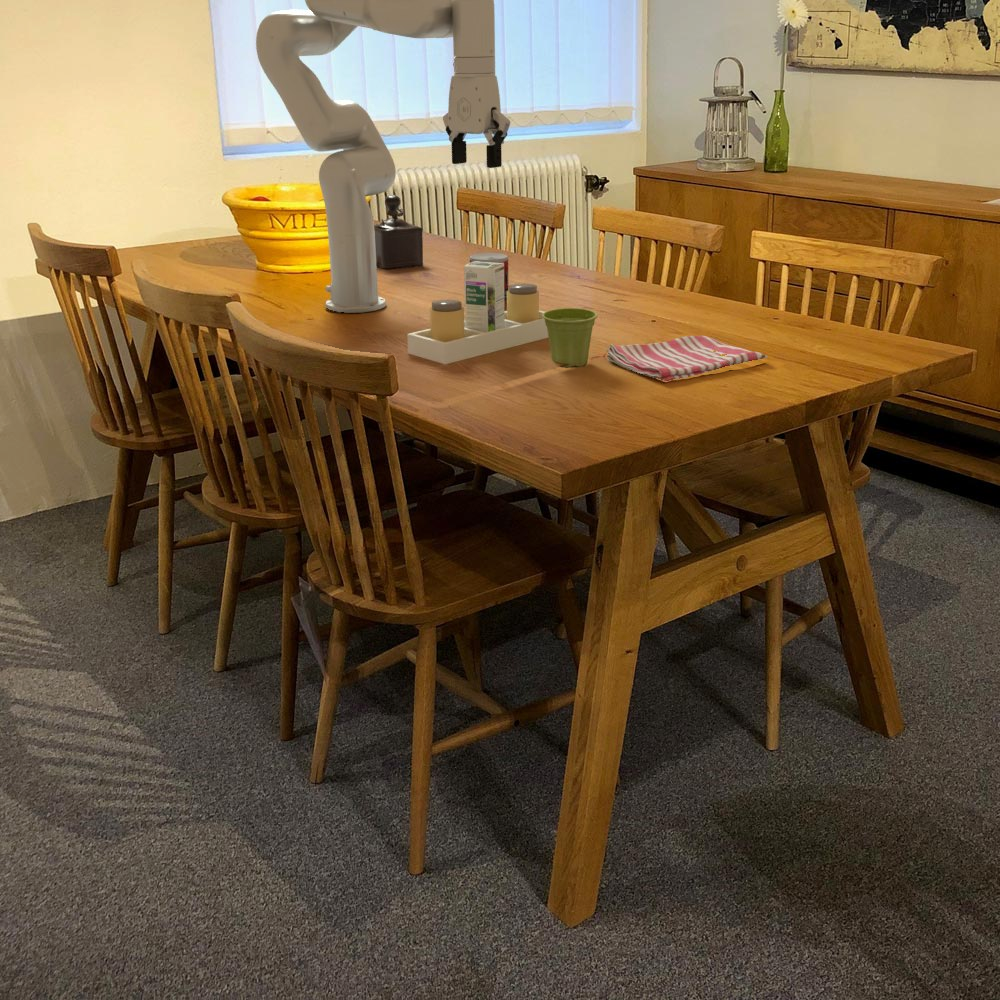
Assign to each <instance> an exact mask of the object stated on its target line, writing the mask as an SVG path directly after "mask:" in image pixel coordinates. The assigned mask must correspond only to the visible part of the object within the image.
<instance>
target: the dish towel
mask: <svg viewBox="0 0 1000 1000" xmlns="http://www.w3.org/2000/svg"><path fill="white" fill-rule="evenodd" d="M714 350H715V351H716V352H713V351H714ZM717 350H718V351H719V352H718V351H717ZM606 352H607V355H606V358H607V359H608V361H609V362H611V363H614V364H617V366H620V367H622V368H623V369H625V368H626V370H628V371H631V370H632V372H634V373H636V372H637V374H639V373H640V374H639V375H641V374H643V375H642V376H644V375H646V376H645V377H647V376H650V377H649V378H651V377H654V378H658V379H661V380H664V381H669V380H673V379H680V378H686V377H690V376H695V375H698V374H702V373H705V372H709V371H712V370H716V369H719V368H722V367H725V366H730V365H734V364H740V363H743V362H748V361H752V360H758V359H763V358H768V356H767V355H766V354H764V353H761V352H758V351H751V350H749V349H746V348H742V347H738V346H734V345H730V344H726V343H722V342H720V341H718V340H716V339H714V338H712V337H709V336H706V335H687V336H686V335H685V336H682V337H677V338H674V339H672V340H668V341H663V342H655V343H653V342H652V343H648V344H646V345H645V344H639V343H637V344H636V343H635V344H626V345H620V346H617V345H615V344H612V343H611V344H610V345H609V347H607V348H606ZM722 354H727V355H725V356H720V355H722ZM654 378H653V379H654Z"/></svg>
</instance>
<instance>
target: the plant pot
mask: <svg viewBox="0 0 1000 1000" xmlns="http://www.w3.org/2000/svg"><path fill="white" fill-rule="evenodd" d="M542 317H543V318H544V319H545V324H546V326H547V330H548V336H549V337H548V341H549V349H550V357H551V360H552V361H553V362H555V363H559V364H563V365H560V367H561V368H570V367H572V366H573V367H574V366H576V367H582V366H584V365H586V364H588V359H589V353H590V345H591V339H592V332H593V327H594V325H595V320H596V319H597V318H598V312H596V311H594V310H590V309H587V308H579V307H562V308H554V309H549V310H546V311H544V313H543V314H542Z"/></svg>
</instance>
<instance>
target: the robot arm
mask: <svg viewBox="0 0 1000 1000" xmlns="http://www.w3.org/2000/svg"><path fill="white" fill-rule="evenodd" d="M304 2H305V5H306V7H307V9H308V10H306V9H305V10H304V9H303V10H302V9H300V10H299V9H289V10H278V11H275V12H272V13H269V14H268V15H266V16H265V17H264V18H263V19H262V20H261V22H260V23H259V25H258V29H257V32H256V39H255V41H256V42H255V46H256V47H255V49H256V55H257V59H258V62H259V63H260V67H261V69H262V71H263V72H264V74H265V76H266V78H267V79H268V80H269V82H270V84H271V85H272V86H273V88H274V89H275V91H276V93H277V94H278V95H279V97H280V99H281V101H282V103H283V104H284V106H285V108H286V111H287V112H288V114H289V116H290V118H291V120H292V121H293V123H294V125H295V127H296V128H297V130H298V132H299V133H300V136H301V137H302V138H303V142H305V143H306V145H307V147H309V148H310V149H311V150H313V151H316V152H321V153H322V152H323V153H324V152H331V151H335V152H333V153H331V154H329V155H327V156H326V157H325V159H324V160H323V161H322V162H321V165H320V166H319V167H320V168H319V170H318V181H319V182H318V183H319V186H320V190H321V193H322V198H323V202H324V207H325V215H326V225H327V226H326V227H327V235H328V250H329V264H330V265H329V266H330V267H329V268H330V279H331V283H330V284H329V285H326V286H325V289H324V290H325V291H326V292H327V293H330V299H327V300H326V301H325V308H326V309H327V308H328V309H330V310H333V311H332V312H334V311H337V312H336V313H341V312H344V313H345V314H352V313H353V314H358V313H359V314H360V313H368V312H369V313H370V312H375V311H378V310H381V309H383V308H385V307H386V306H387V301H386V299H385V298H383V297H381V296H379V292H378V289H379V288H378V287H379V285H378V272H377V270H378V267H377V266H376V248H375V231H374V225H375V221H374V216H373V212H372V210H371V208H370V207H371V206H370V205H369V202H368V200H367V198H366V197H370V196H374V195H375V196H376V195H378V194H382V193H385V192H387V191H388V190H389V189H390V188H392V186H393V185H394V183H395V181H396V174H397V172H396V165H395V163H394V158H393V157H392V155H391V153H390V150H389V149H388V147H387V145H386V143H385V142H384V139H383V137H382V136H381V134H380V132H379V130H378V129H377V127H376V125H375V123H374V121H373V120H372V117H371V116H370V115H369V113H368V112H367V110H366V109H364V107H362V106H361V105H360V104H359V103H357V102H355V101H352V100H348V99H344V100H343V99H341V100H333V99H332V98H330V96H329V94H328V93H327V92H326V90H325V88H324V87H323V85H322V83H321V81H320V79H319V77H318V76H317V75H316V74H315V72H314V71H313V70H312V69H310V67H309V66H307V65H306V64H305V63H304V62H303V61H302V60H301V58H300V57H308V56H309V57H310V56H311V57H313V56H324V55H327V54H329V53H331V52H333V51H334V50H336V49H337V48H338V47H339V46H341V44H342V43H343V42H344V41H345V40H347V38H348V37H349V36H350V35H351V34H352V33H353V32H354V31H355V30H356V29H357V28H358V27H360V28H361V27H362V28H367V29H372V30H373V31H377V32H380V33H385V34H389V35H395V36H400V37H405V38H411V39H445V38H447V39H448V38H452V39H453V40H452V43H453V44H452V45H453V46H452V47H453V63H452V66H453V75H452V76H451V78H450V83H449V92H448V112H447V113H446V114H444V115H443V116H442V121H443V125H444V126H445V132H446V133H447V135H448V140H449V142H450V143H451V163H452V165H458V164H466V163H467V157H468V156H467V141H466V140H465V138H466V135H467V134H469V135H470V134H471V135H482V134H483V135H484V137H485V138H486V141H487V142H488V144H487V145H486V150H485V151H486V167H487V168H488V169H493V168H501V167H502V164H503V163H502V161H503V160H502V145H503V144H504V143H505V139H506V138H507V136H508V131H509V128H510V125H511V121H510V119H509V118H508V117H506V115H504V114H503V113H502V112H501V97H500V88H499V82H498V77H497V75H496V41H495V40H496V36H495V35H496V33H495V32H496V29H495V27H496V24H495V23H496V22H495V15H496V14H495V0H304ZM339 150H340V151H339ZM328 309H327V310H328ZM330 310H329V311H330Z"/></svg>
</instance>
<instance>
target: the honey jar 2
mask: <svg viewBox="0 0 1000 1000" xmlns="http://www.w3.org/2000/svg"><path fill="white" fill-rule="evenodd" d="M506 311H507V320H510V321H514V322H519V323H527V322H531V321H535V320H539V311H540V291H539V289H538V286H537V285H536V284H534V283H525V282H524V283H514V284H509V285H508V291H507V307H506Z"/></svg>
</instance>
